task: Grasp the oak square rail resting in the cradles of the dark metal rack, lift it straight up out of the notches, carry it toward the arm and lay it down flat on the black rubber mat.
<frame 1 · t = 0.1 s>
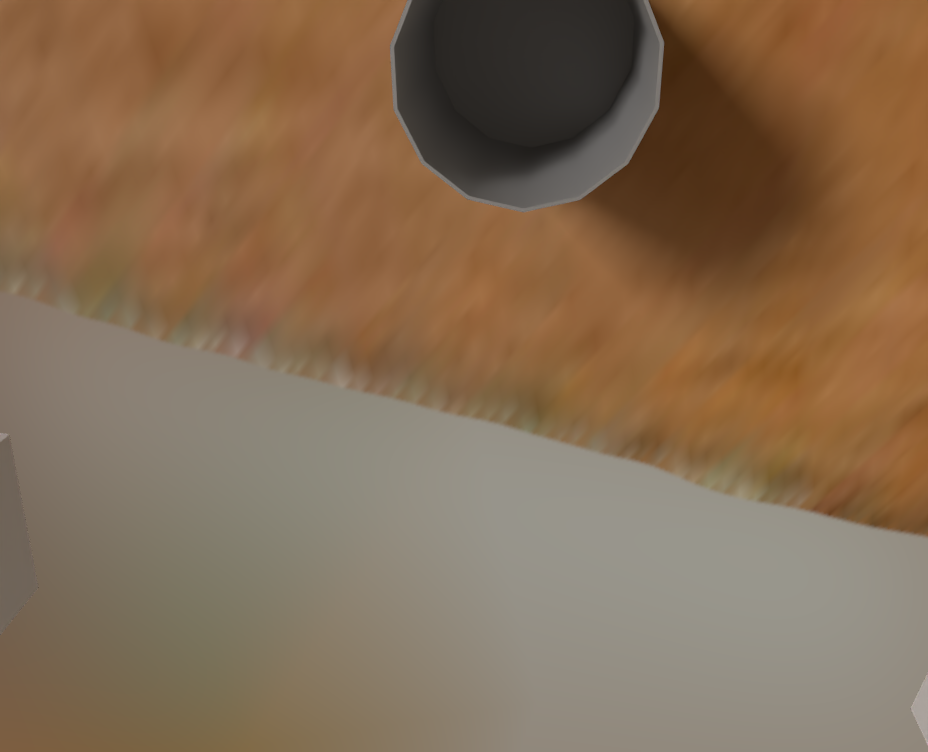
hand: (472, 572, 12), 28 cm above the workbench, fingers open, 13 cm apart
cup: (533, 42, 35), on the workbench
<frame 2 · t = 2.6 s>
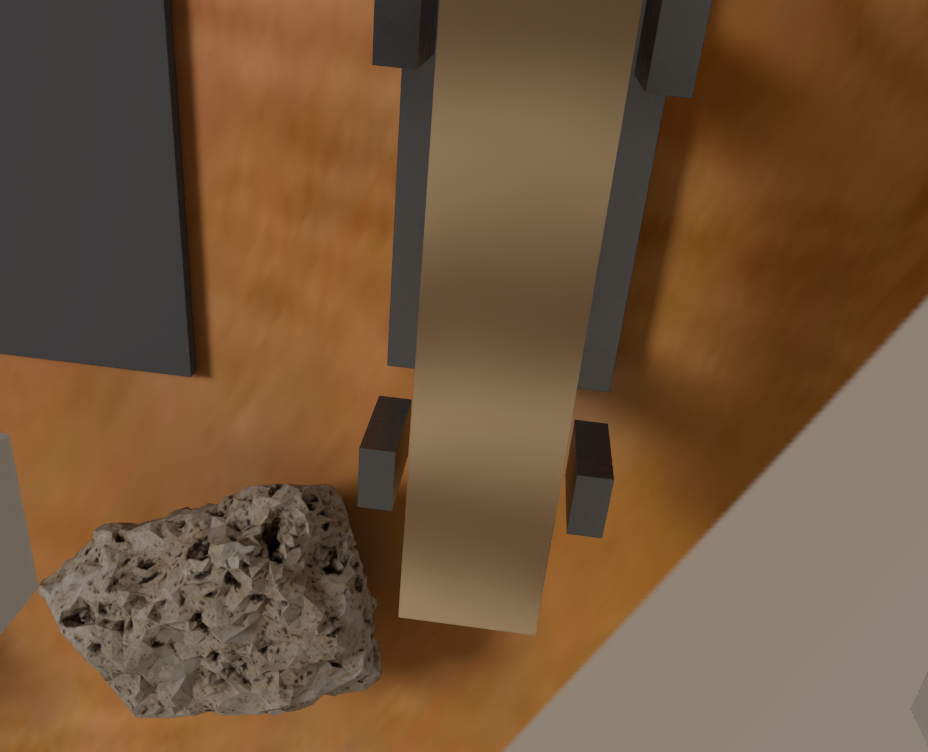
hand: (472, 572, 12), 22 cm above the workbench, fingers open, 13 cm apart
mat: (43, 67, 31), on the workbench
pumice stone: (249, 537, 41), on the workbench
rack: (522, 174, 31), on the workbench
rail: (511, 253, 23), point 9 cm above the workbench, touching rack
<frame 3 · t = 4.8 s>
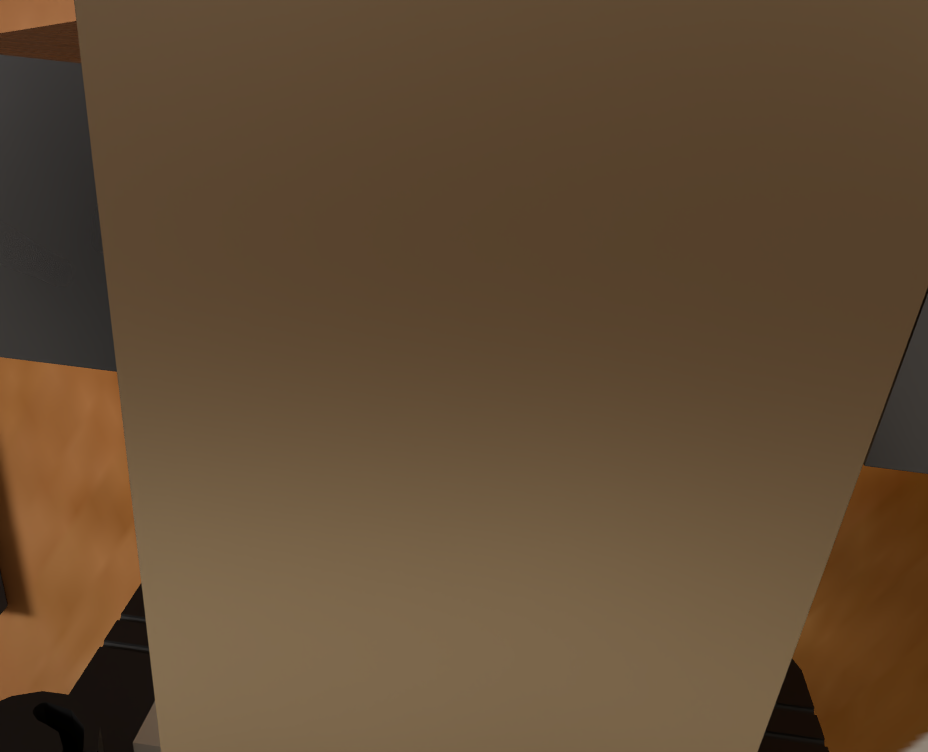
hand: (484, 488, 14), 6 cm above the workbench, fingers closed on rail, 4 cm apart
rack: (504, 342, 19), on the workbench
rail: (463, 640, 11), point 9 cm above the workbench, touching gripper, rack
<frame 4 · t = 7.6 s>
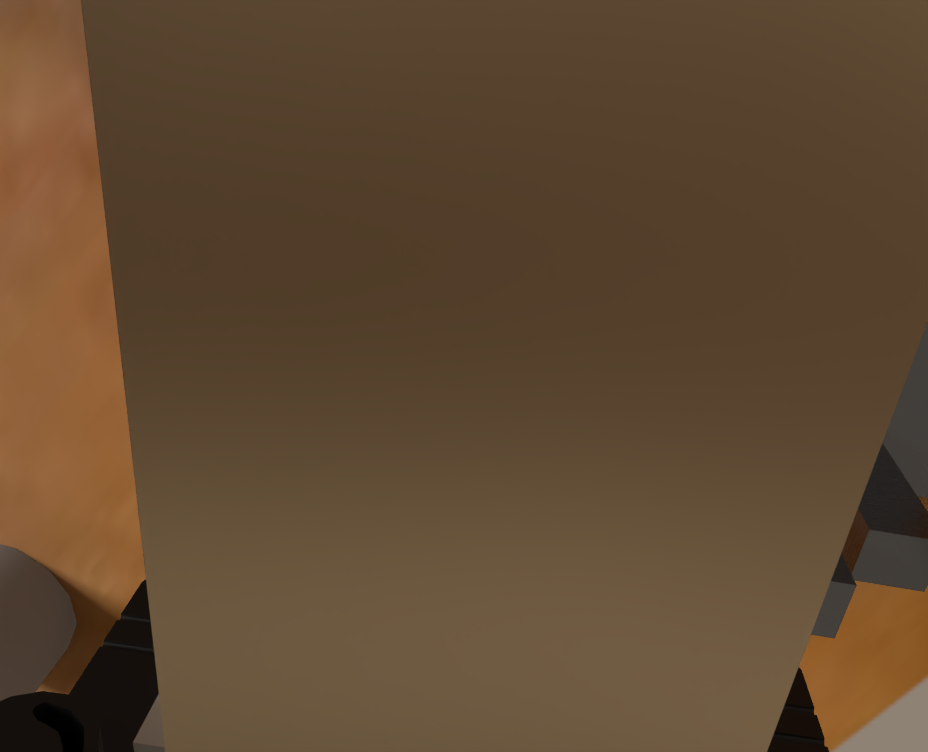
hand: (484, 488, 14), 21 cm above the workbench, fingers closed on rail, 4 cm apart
rack: (870, 288, 32), on the workbench
cup: (2, 601, 45), on the workbench
rail: (466, 645, 11), point 24 cm above the workbench, touching gripper
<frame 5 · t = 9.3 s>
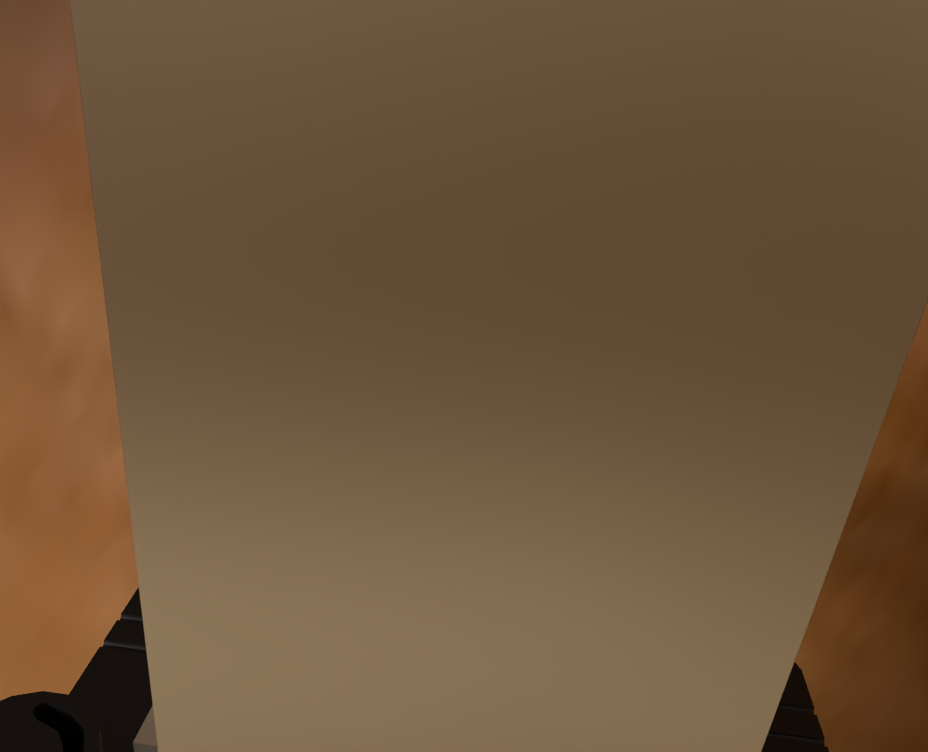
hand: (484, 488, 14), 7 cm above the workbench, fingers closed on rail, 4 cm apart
rail: (463, 647, 11), point 11 cm above the workbench, touching gripper
when the fingers open (2 cm above the workbench, at t = 10.8 s): rail drops 4 cm, resting on mat.
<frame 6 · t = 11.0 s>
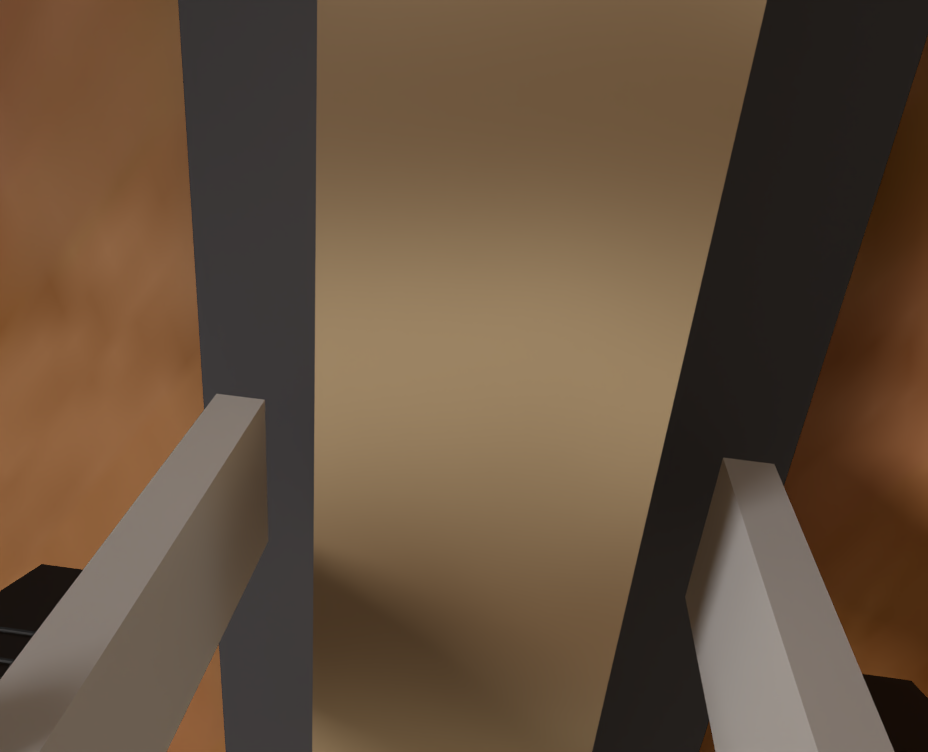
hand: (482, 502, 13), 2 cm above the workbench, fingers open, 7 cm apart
mat: (491, 435, 15), on the workbench
rail: (486, 455, 15), point 1 cm above the workbench, touching mat
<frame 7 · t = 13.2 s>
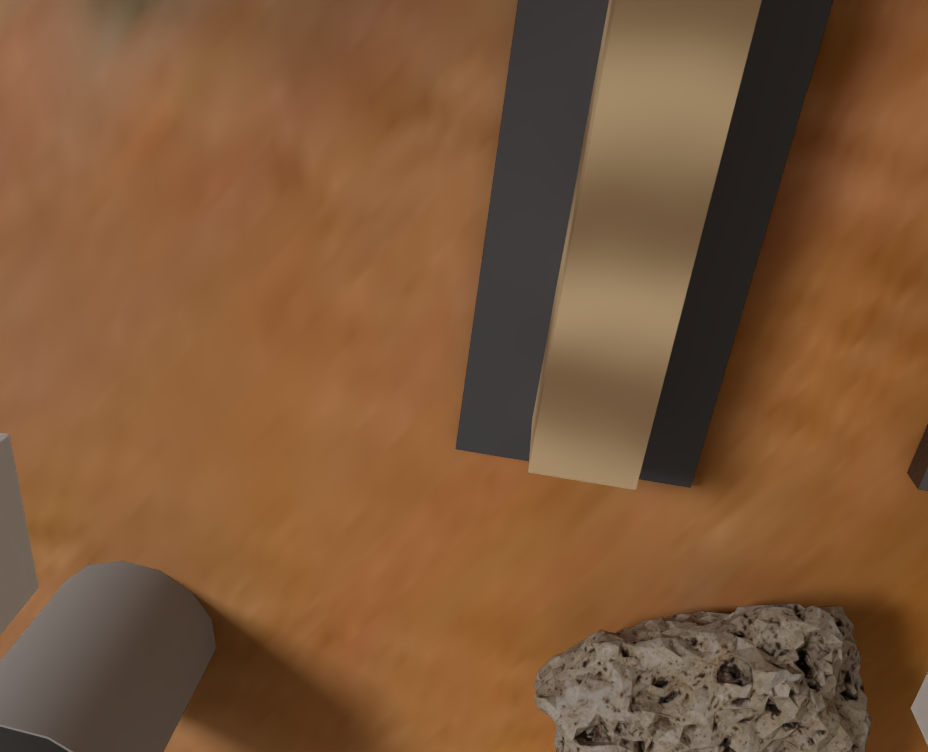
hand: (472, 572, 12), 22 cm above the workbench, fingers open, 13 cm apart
mat: (631, 183, 31), on the workbench
pumice stone: (684, 641, 40), on the workbench
cup: (138, 624, 43), on the workbench
rail: (631, 188, 30), point 1 cm above the workbench, touching mat
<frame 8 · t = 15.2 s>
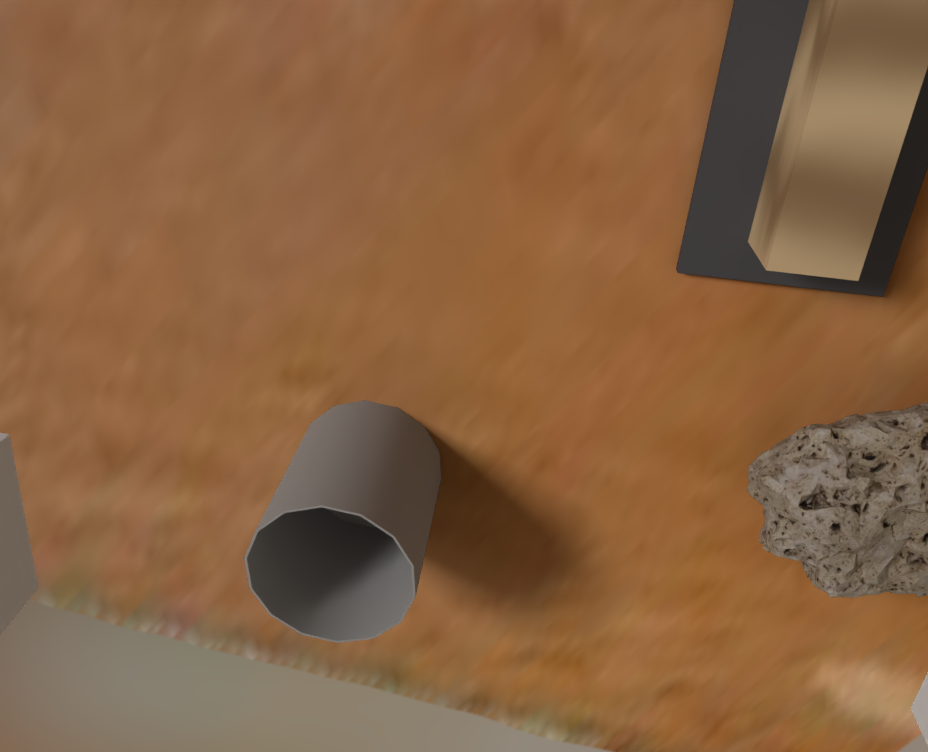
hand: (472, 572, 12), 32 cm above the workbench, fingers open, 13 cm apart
mat: (848, 20, 36), on the workbench
pumice stone: (862, 447, 46), on the workbench
cup: (371, 461, 50), on the workbench
rail: (852, 22, 36), point 1 cm above the workbench, touching mat
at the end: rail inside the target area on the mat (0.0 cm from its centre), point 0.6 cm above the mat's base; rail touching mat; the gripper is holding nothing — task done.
